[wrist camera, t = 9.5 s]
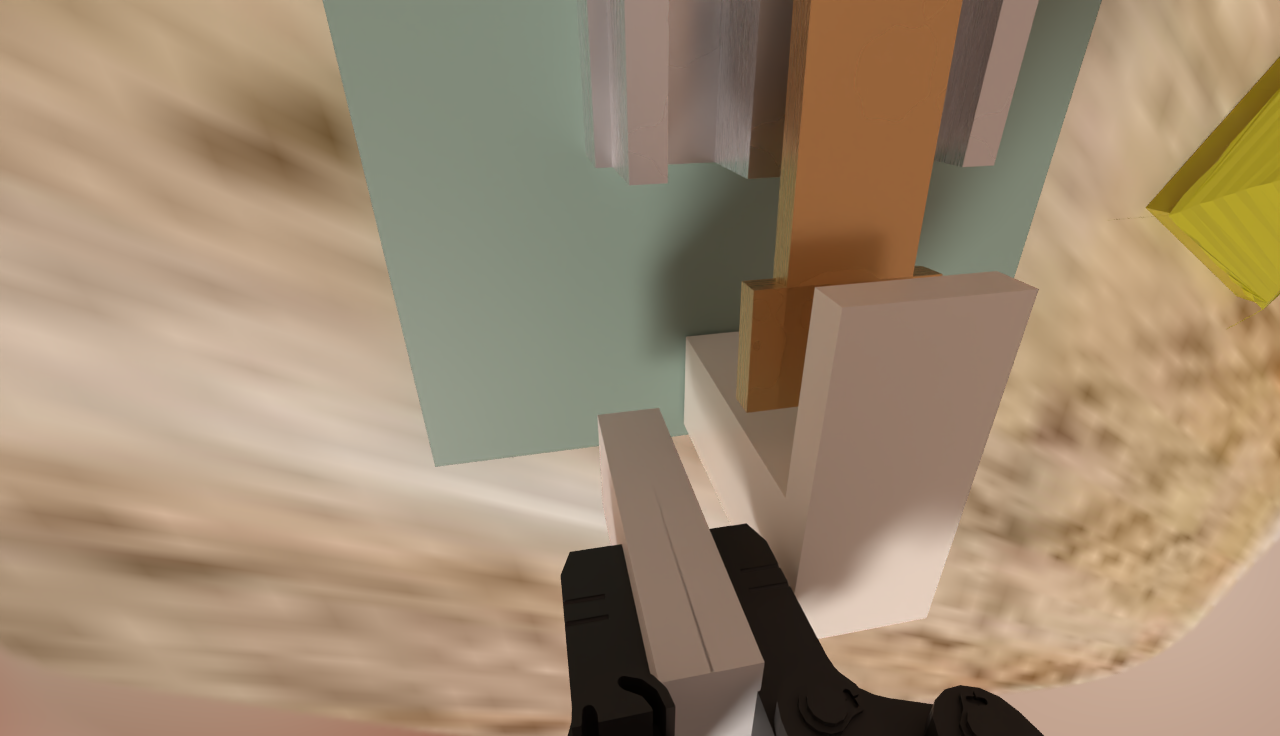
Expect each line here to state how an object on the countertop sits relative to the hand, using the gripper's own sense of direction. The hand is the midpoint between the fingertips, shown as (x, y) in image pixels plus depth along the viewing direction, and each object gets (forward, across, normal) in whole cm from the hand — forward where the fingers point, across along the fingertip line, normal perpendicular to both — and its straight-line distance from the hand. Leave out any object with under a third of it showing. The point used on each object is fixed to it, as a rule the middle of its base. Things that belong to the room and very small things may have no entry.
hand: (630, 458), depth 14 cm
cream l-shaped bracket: (+3, +4, +2) cm, 5 cm away
